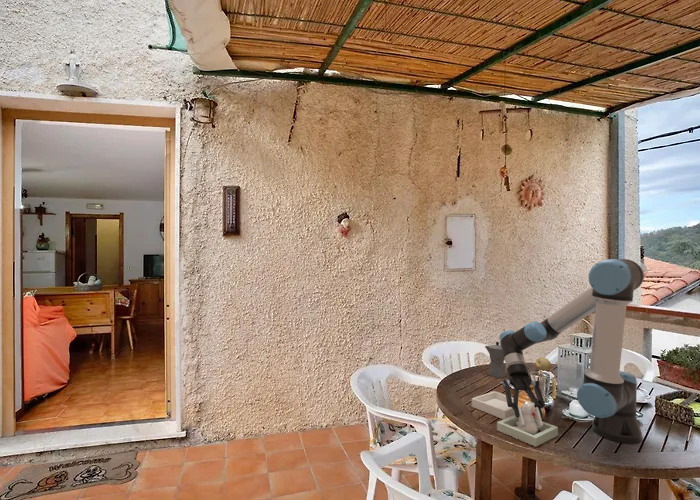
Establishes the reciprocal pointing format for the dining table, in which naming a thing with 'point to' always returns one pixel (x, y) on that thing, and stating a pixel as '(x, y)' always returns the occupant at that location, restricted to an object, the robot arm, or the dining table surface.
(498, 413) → the tray
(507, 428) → the holder
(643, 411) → the dining table surface
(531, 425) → the sitting furry creature
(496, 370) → the coffeepot
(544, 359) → the fruit
